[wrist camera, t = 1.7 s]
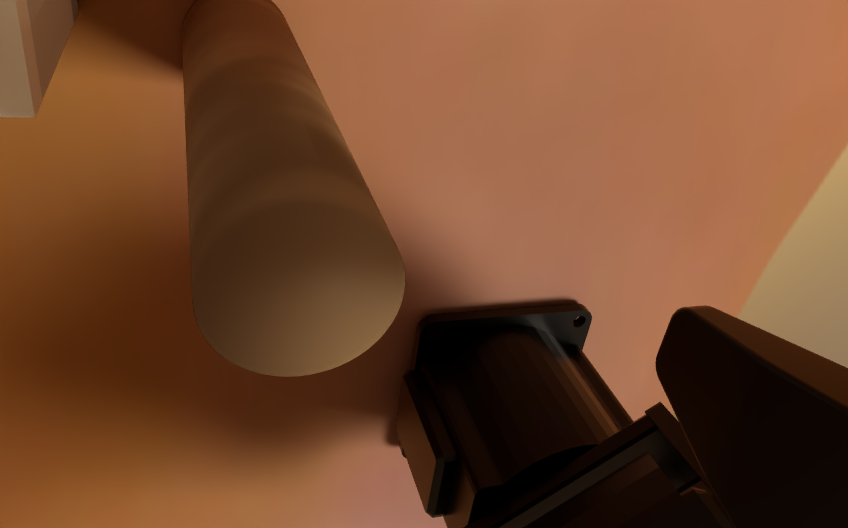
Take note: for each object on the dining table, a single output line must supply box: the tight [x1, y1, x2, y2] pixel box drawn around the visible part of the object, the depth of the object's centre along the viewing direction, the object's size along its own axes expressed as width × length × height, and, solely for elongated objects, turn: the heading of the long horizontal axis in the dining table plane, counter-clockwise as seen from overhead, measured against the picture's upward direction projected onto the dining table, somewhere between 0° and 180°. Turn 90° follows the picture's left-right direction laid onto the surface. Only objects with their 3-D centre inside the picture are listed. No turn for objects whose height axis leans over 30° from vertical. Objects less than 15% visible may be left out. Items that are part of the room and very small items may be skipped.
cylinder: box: [182, 0, 405, 377], centre depth 13 cm, size 3×3×11 cm
